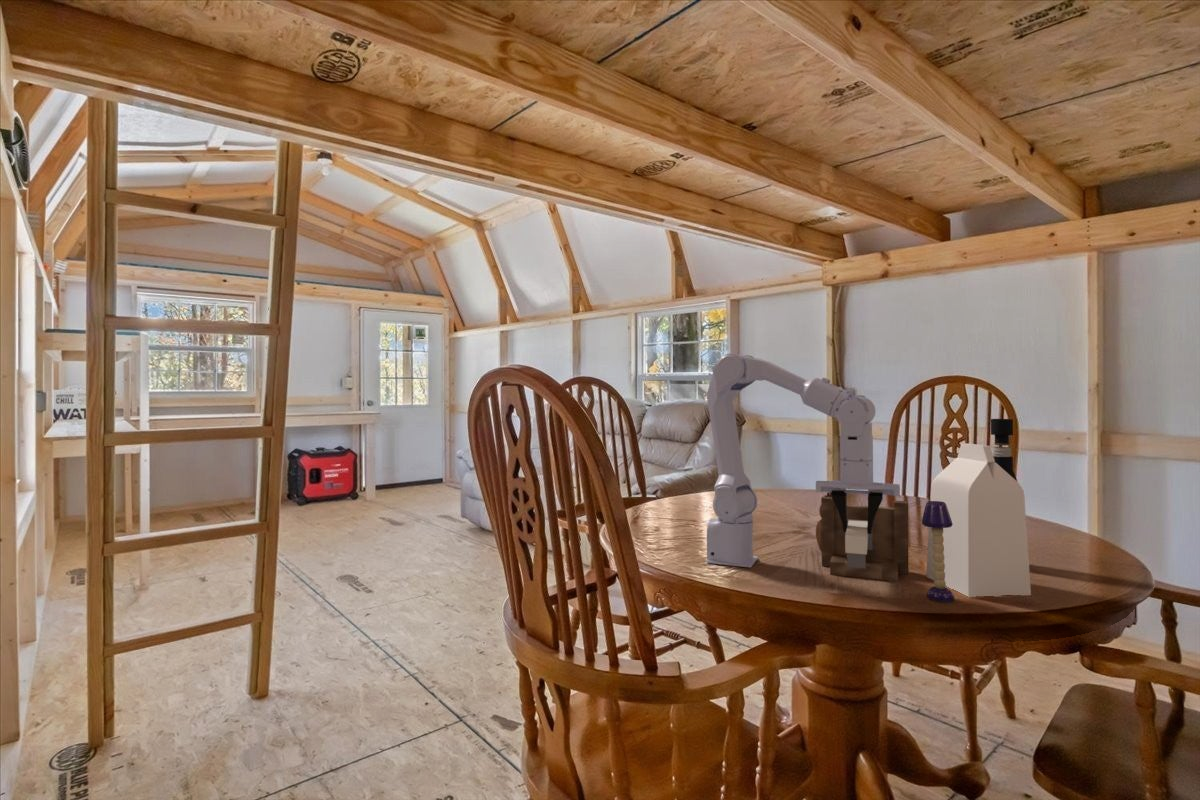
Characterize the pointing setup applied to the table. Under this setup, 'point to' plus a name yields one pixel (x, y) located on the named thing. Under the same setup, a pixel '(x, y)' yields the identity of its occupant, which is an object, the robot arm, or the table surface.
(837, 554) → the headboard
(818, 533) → the wooden figurine
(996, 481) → the milk
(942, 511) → the toy lamp
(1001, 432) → the wine bottle
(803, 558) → the table surface
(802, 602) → the table surface
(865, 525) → the beige block
